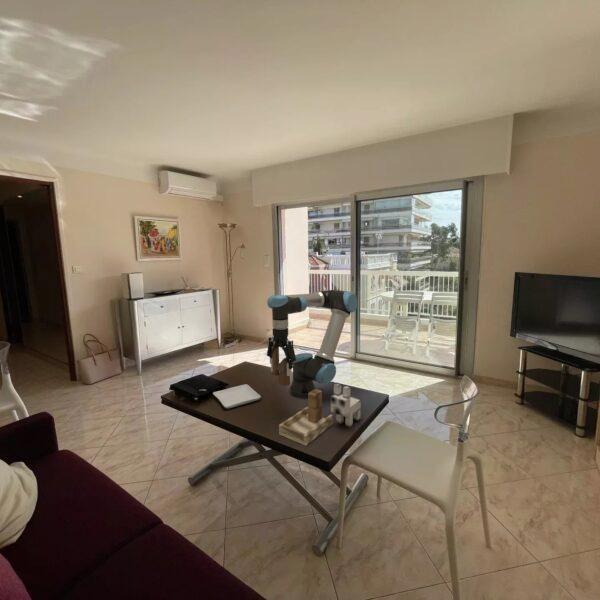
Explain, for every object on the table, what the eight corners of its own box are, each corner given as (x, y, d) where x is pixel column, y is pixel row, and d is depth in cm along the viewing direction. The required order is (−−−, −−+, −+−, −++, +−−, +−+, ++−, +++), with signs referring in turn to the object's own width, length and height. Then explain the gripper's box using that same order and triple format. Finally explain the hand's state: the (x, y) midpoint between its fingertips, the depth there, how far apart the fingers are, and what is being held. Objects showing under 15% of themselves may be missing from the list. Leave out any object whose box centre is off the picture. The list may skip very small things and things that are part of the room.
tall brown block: (315, 415, 157) (315, 389, 155) (322, 418, 155) (322, 391, 153) (308, 420, 152) (308, 393, 151) (315, 423, 150) (315, 395, 148)
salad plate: (225, 412, 165) (224, 406, 165) (212, 397, 183) (212, 391, 182) (262, 402, 177) (262, 396, 176) (246, 388, 194) (246, 383, 194)
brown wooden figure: (284, 386, 151) (283, 350, 149) (270, 380, 159) (269, 345, 156) (290, 384, 154) (289, 348, 151) (276, 378, 162) (275, 344, 159)
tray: (307, 414, 162) (307, 406, 161) (332, 423, 153) (332, 415, 152) (279, 434, 144) (278, 425, 143) (305, 445, 135) (305, 436, 135)
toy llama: (362, 416, 159) (363, 378, 156) (344, 431, 146) (344, 390, 143) (349, 412, 164) (350, 375, 161) (330, 426, 150) (330, 386, 148)
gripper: (258, 326, 156) (259, 370, 159) (293, 332, 142) (294, 380, 146) (268, 323, 162) (269, 366, 165) (303, 329, 148) (303, 375, 152)
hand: (281, 372), depth 155 cm, fingers open, 9 cm apart
